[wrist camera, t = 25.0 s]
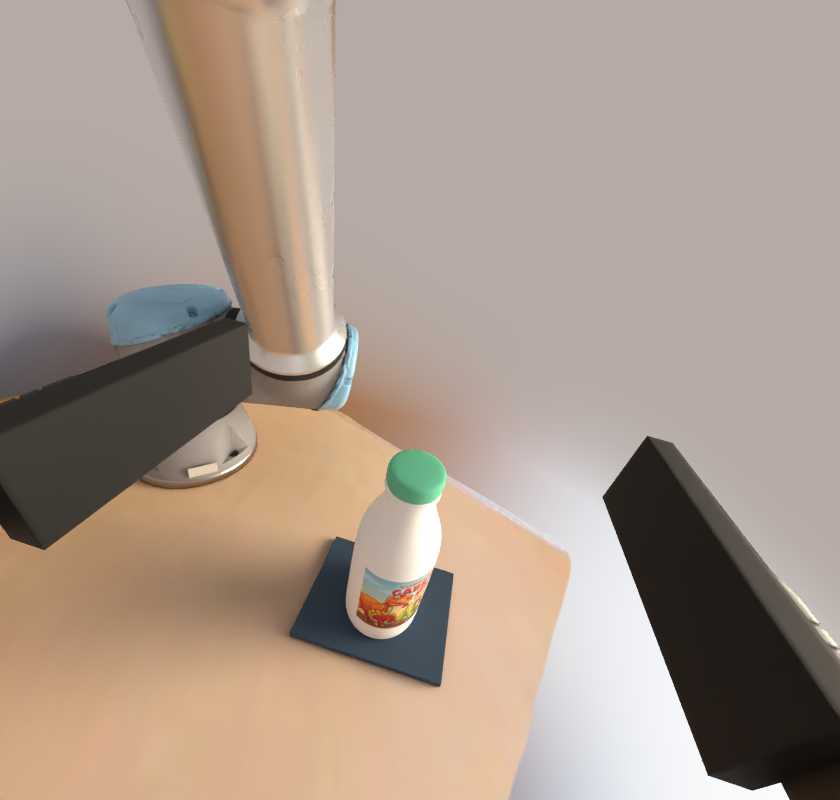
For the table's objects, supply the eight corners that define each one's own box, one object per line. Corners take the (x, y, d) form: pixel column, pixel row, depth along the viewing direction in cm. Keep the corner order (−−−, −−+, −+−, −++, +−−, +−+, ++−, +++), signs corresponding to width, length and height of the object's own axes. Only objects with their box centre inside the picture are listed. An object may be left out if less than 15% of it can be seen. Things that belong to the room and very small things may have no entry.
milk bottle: (329, 612, 34) (346, 472, 23) (372, 554, 40) (401, 423, 29) (392, 660, 31) (443, 529, 21) (428, 590, 37) (480, 463, 27)
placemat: (289, 636, 32) (289, 633, 31) (336, 539, 41) (336, 536, 41) (439, 687, 31) (441, 684, 30) (452, 576, 40) (453, 573, 40)
